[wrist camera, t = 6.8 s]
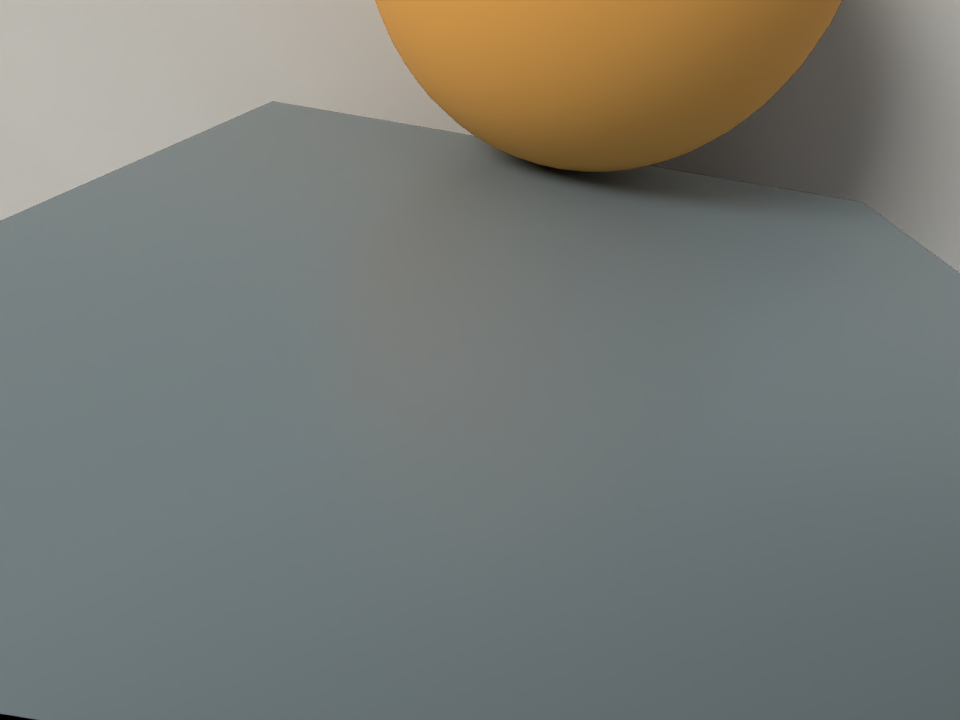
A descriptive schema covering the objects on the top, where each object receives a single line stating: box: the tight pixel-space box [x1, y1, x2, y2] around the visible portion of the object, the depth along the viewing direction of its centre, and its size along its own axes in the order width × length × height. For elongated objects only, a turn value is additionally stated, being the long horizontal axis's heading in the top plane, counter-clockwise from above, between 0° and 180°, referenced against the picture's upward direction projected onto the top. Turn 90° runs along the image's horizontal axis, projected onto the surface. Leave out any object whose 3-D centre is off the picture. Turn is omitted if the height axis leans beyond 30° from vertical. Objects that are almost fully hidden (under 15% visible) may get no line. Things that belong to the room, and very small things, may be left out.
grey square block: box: [0, 101, 960, 720], centre depth 8 cm, size 8×8×9 cm
